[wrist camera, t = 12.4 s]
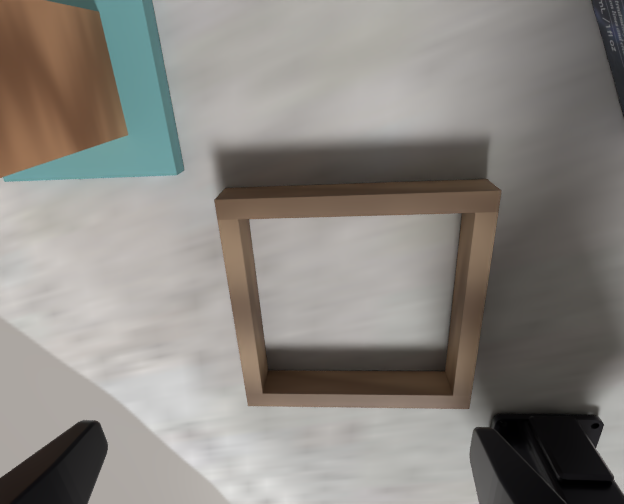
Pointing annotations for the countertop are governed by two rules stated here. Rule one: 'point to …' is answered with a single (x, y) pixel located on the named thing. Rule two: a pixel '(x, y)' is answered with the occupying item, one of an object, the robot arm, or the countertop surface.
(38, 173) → the plate
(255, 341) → the pocket frame
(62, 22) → the block
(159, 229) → the countertop surface
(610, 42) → the box
